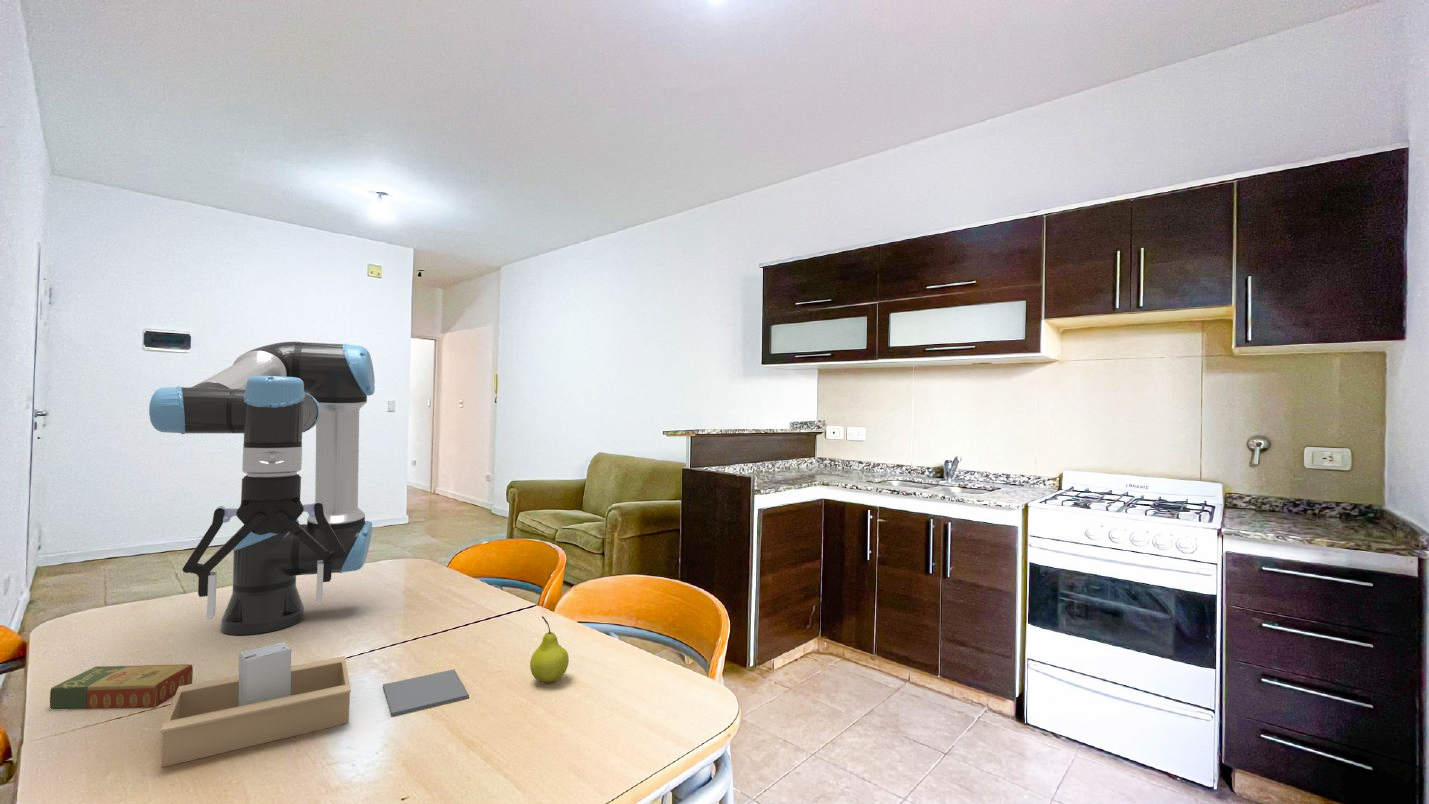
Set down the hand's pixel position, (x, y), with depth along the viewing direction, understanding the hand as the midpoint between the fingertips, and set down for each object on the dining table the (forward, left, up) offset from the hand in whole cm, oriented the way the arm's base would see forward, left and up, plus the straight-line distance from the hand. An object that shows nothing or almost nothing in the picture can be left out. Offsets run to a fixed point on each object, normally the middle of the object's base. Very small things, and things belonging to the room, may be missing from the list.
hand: (267, 609), depth 94 cm
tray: (0, 0, -18) cm, 18 cm away
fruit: (+8, +43, -19) cm, 48 cm away
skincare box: (0, 0, -19) cm, 19 cm away
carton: (-24, -20, -19) cm, 37 cm away
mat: (+1, +23, -18) cm, 29 cm away
